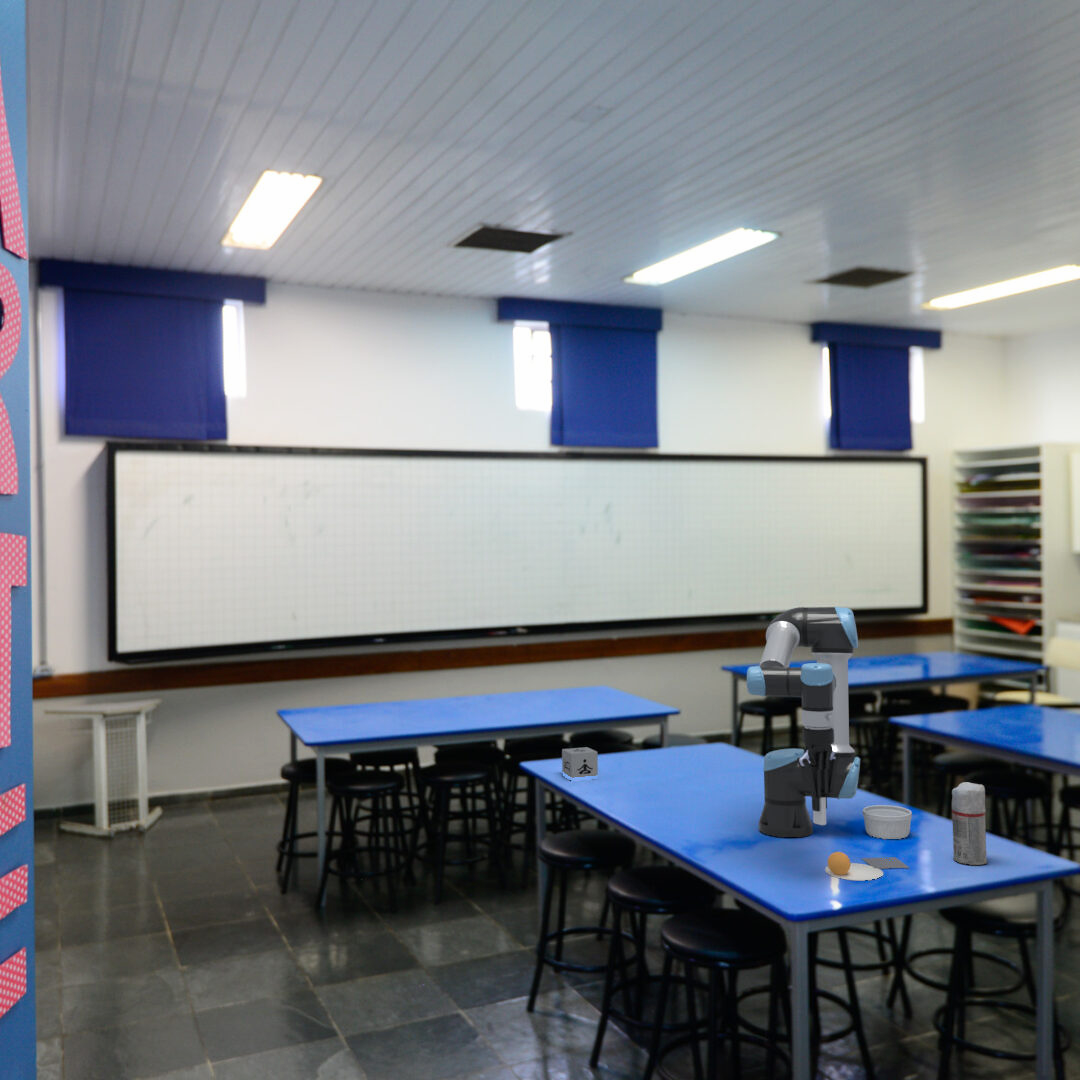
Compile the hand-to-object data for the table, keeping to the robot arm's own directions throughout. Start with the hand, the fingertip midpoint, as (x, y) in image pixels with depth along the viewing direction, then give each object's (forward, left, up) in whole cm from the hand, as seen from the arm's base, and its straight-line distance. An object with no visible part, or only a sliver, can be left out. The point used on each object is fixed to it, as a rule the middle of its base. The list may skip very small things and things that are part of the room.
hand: (819, 823), depth 248 cm
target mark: (-10, +6, -14) cm, 18 cm away
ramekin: (-49, +8, -14) cm, 52 cm away
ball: (-7, +3, -11) cm, 14 cm away
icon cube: (-84, -103, -14) cm, 134 cm away
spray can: (-31, +32, -14) cm, 47 cm away
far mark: (-21, +12, -14) cm, 28 cm away
